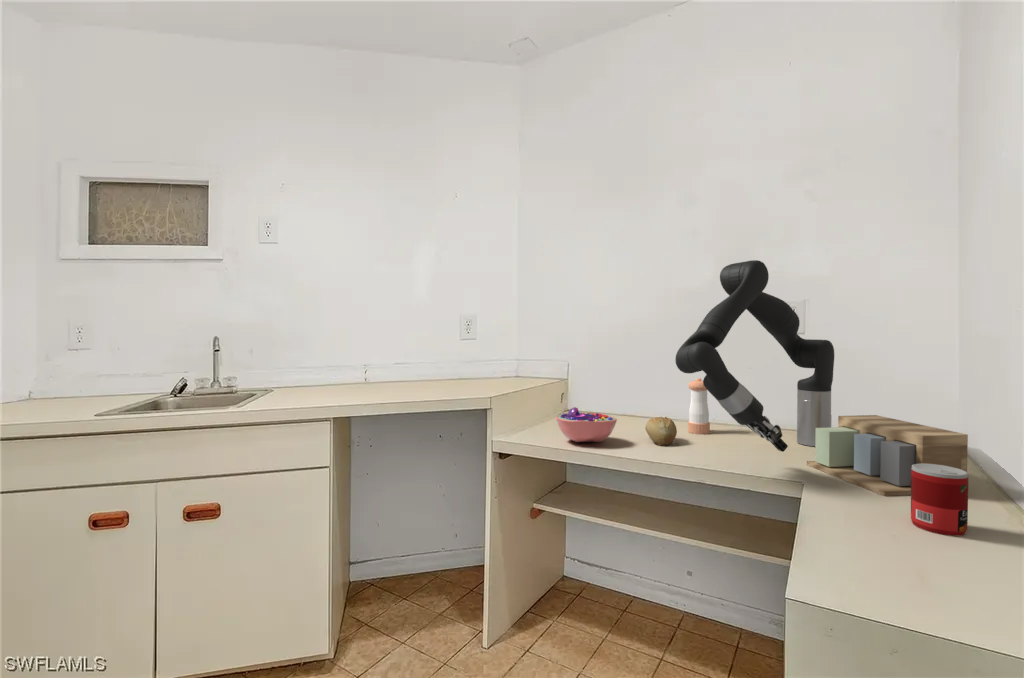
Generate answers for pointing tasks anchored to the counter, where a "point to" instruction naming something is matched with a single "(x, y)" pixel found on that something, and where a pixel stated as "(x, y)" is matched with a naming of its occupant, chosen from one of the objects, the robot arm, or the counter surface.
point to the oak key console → (928, 441)
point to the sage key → (835, 446)
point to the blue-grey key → (868, 453)
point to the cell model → (585, 426)
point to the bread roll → (661, 430)
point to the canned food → (939, 499)
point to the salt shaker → (698, 409)
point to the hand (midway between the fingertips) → (783, 448)
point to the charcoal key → (897, 462)
